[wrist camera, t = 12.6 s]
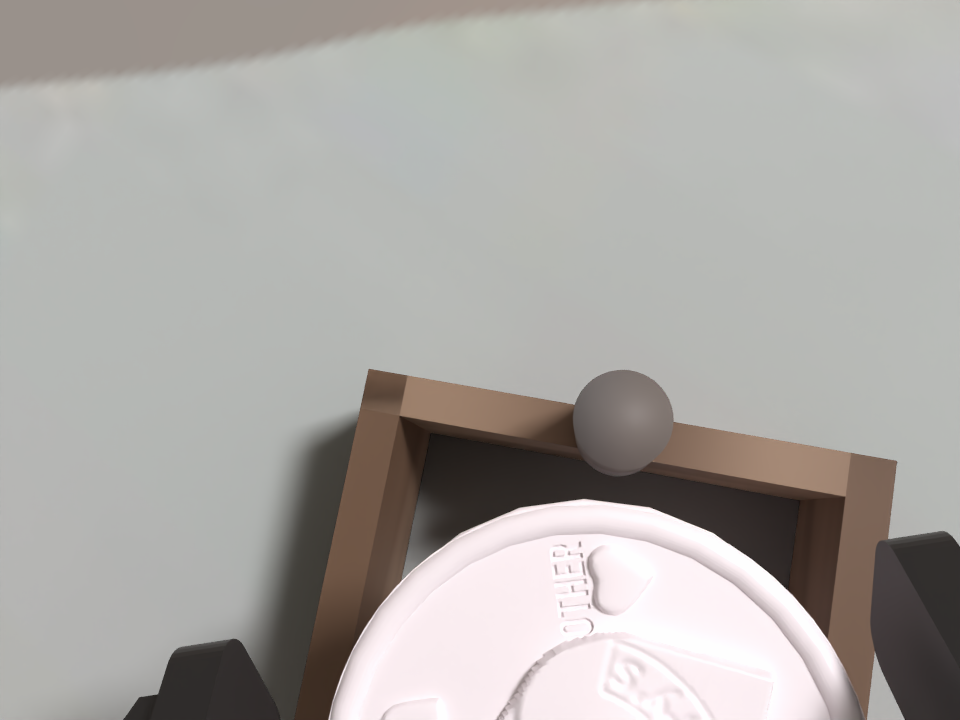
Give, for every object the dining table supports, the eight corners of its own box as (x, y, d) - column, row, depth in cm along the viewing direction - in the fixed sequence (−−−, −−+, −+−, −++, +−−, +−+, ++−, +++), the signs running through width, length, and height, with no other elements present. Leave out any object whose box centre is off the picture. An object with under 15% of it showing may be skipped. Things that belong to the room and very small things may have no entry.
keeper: (329, 757, 20) (219, 859, 14) (407, 377, 21) (338, 321, 15) (791, 870, 18) (889, 1039, 12) (844, 453, 19) (955, 424, 14)
